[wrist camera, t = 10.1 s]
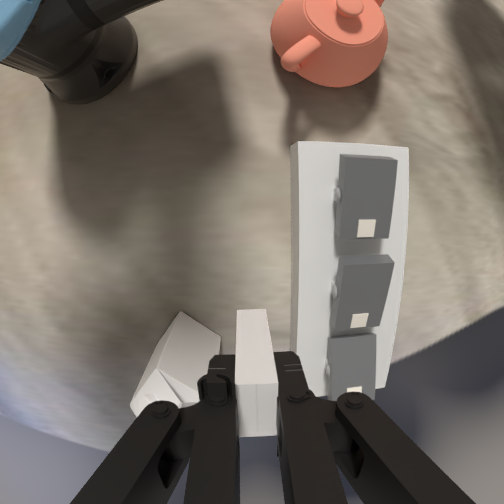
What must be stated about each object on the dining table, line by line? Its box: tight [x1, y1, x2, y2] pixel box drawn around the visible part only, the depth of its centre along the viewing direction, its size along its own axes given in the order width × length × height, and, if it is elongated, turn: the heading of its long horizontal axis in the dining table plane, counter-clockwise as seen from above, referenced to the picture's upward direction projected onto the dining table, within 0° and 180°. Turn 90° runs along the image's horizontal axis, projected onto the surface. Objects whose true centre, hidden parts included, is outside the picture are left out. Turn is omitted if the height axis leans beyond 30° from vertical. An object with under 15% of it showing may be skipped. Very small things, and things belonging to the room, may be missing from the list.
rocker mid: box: [330, 254, 395, 331], centre depth 36 cm, size 9×6×3 cm
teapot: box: [271, 0, 388, 87], centre depth 30 cm, size 22×15×12 cm
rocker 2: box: [326, 333, 376, 401], centre depth 38 cm, size 9×6×3 cm
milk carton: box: [130, 311, 221, 417], centre depth 37 cm, size 7×7×19 cm
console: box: [290, 141, 409, 397], centre depth 41 cm, size 34×15×7 cm, turn 1°
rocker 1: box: [335, 154, 398, 240], centre depth 33 cm, size 9×6×3 cm
